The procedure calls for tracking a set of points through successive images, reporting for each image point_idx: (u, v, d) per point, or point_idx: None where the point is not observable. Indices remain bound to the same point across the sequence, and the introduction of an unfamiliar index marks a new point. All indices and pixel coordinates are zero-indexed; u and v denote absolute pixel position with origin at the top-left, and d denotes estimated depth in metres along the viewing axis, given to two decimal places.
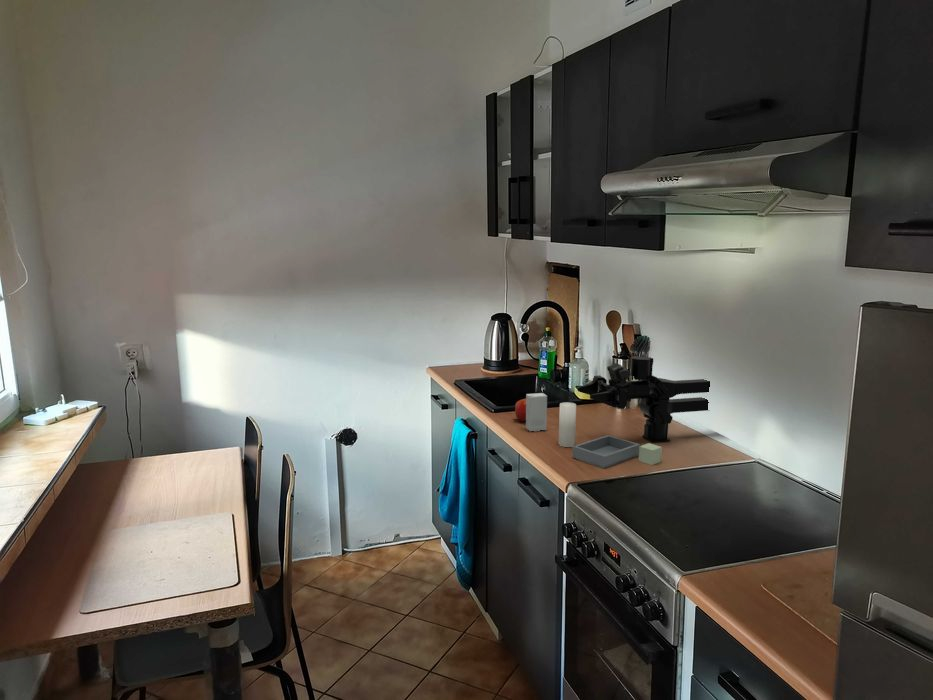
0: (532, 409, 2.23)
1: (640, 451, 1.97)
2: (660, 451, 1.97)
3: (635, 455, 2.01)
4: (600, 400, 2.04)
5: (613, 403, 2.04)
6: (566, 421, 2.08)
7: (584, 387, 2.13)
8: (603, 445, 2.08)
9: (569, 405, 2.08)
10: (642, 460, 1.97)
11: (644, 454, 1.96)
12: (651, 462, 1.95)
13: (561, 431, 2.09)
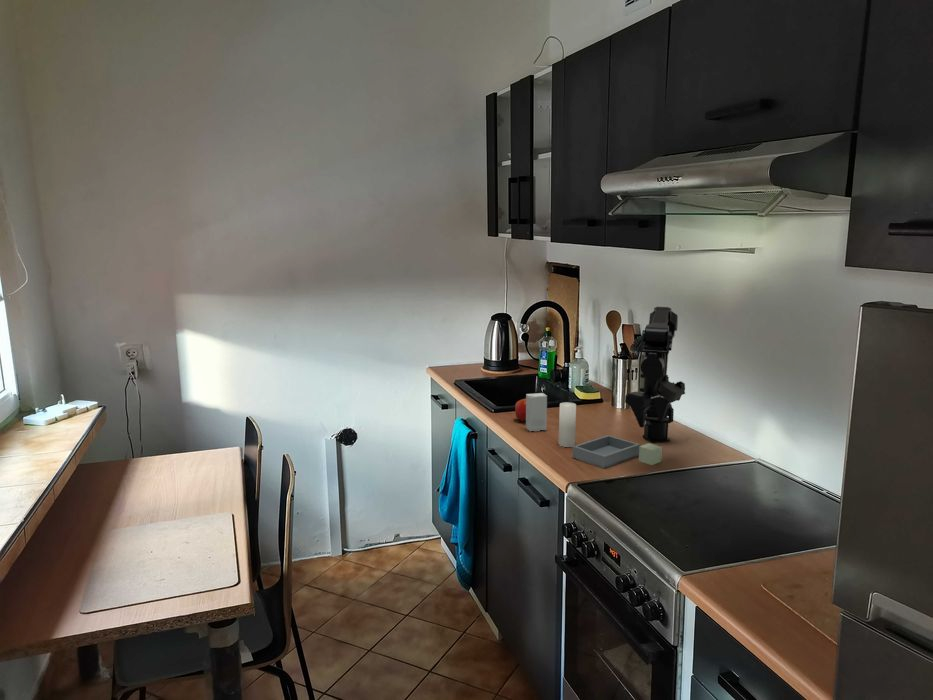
0: (532, 409, 2.23)
1: (640, 451, 1.97)
2: (660, 451, 1.97)
3: (635, 455, 2.01)
4: None
5: None
6: (566, 421, 2.08)
7: None
8: (603, 445, 2.08)
9: (569, 405, 2.08)
10: (642, 460, 1.97)
11: (644, 454, 1.96)
12: (651, 462, 1.95)
13: (561, 431, 2.09)
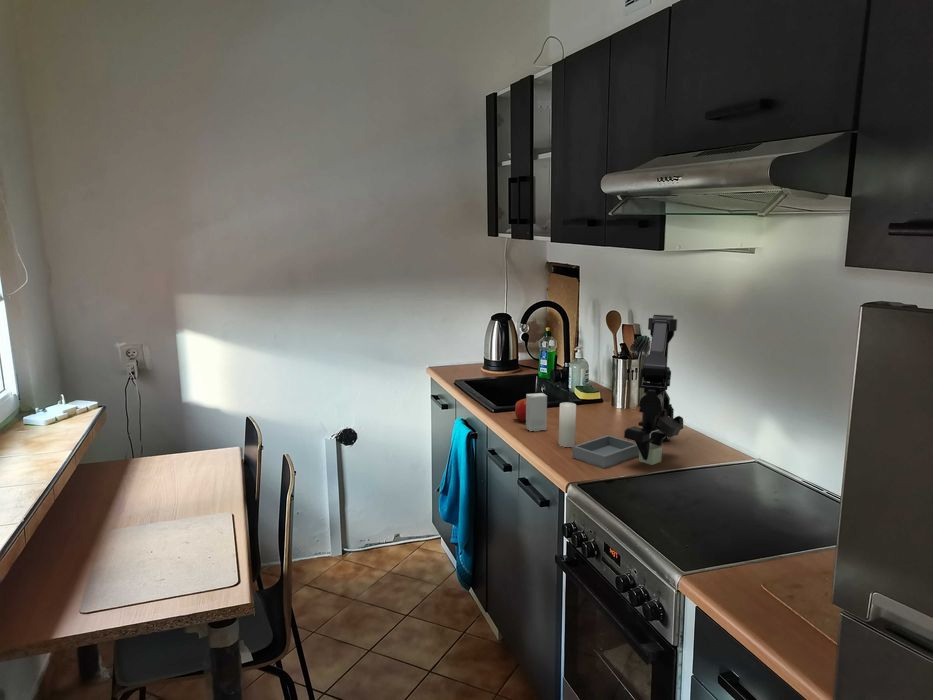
0: (532, 409, 2.23)
1: None
2: (660, 451, 1.97)
3: (635, 455, 2.01)
4: None
5: None
6: (566, 421, 2.08)
7: None
8: (603, 445, 2.08)
9: (569, 405, 2.08)
10: (642, 460, 1.97)
11: None
12: (651, 462, 1.95)
13: (561, 431, 2.09)
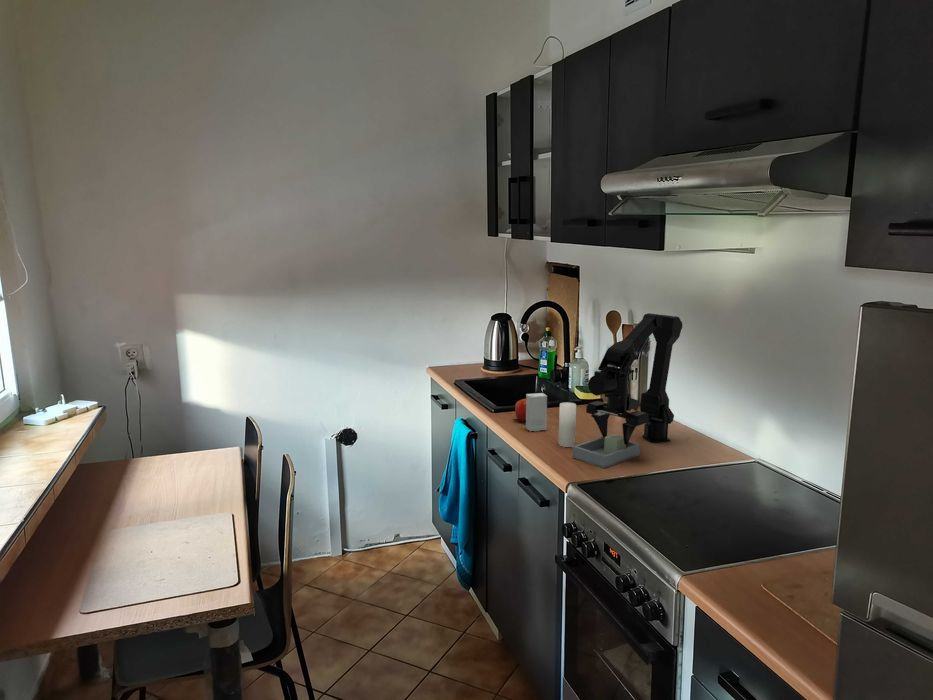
0: (532, 409, 2.23)
1: (617, 444, 2.00)
2: None
3: (635, 455, 2.01)
4: None
5: None
6: (566, 421, 2.08)
7: None
8: (603, 445, 2.08)
9: (569, 405, 2.08)
10: None
11: (620, 445, 2.01)
12: None
13: (561, 431, 2.09)
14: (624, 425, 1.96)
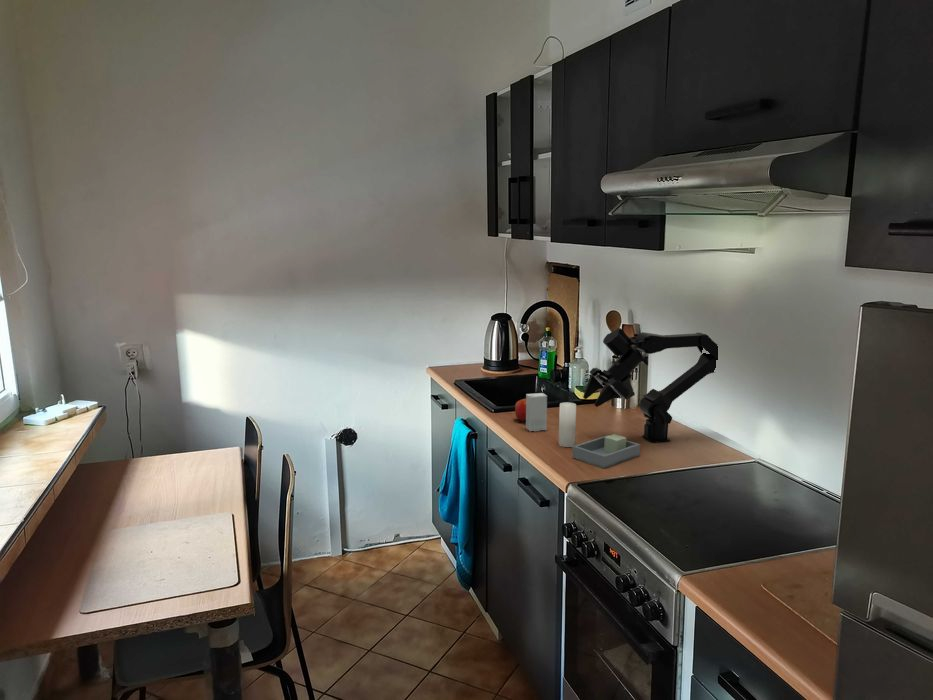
0: (532, 409, 2.23)
1: (617, 444, 2.00)
2: None
3: (635, 455, 2.01)
4: None
5: None
6: (566, 421, 2.08)
7: None
8: (603, 445, 2.08)
9: (569, 405, 2.08)
10: None
11: (620, 445, 2.01)
12: None
13: (561, 431, 2.09)
14: (606, 384, 2.04)
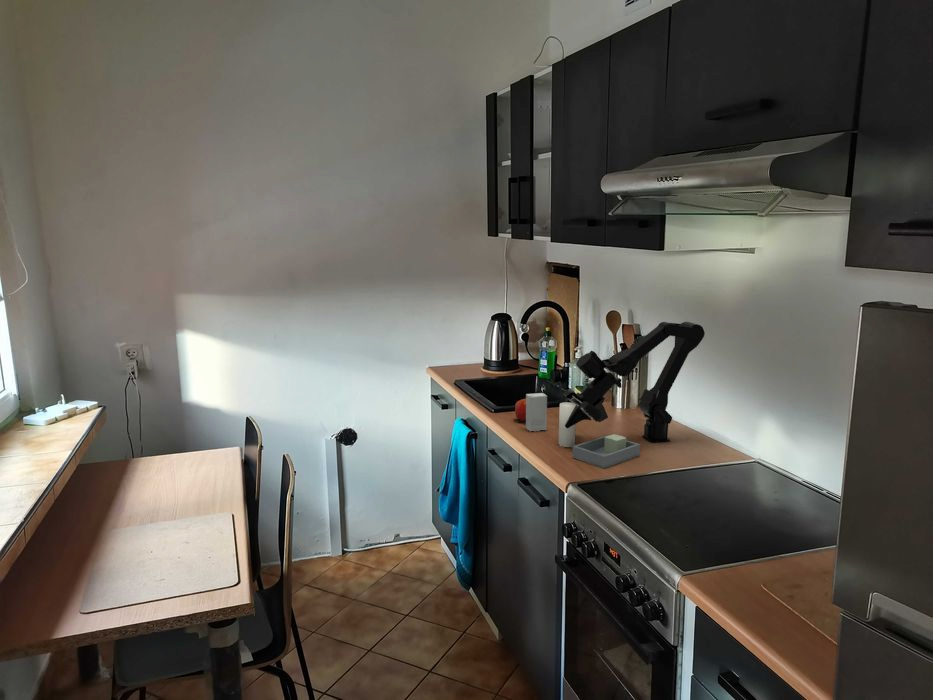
0: (532, 409, 2.23)
1: (617, 444, 2.00)
2: None
3: (635, 455, 2.01)
4: None
5: None
6: (566, 421, 2.08)
7: None
8: (603, 445, 2.08)
9: (569, 405, 2.08)
10: None
11: (620, 445, 2.01)
12: None
13: (561, 431, 2.09)
14: (576, 406, 2.06)
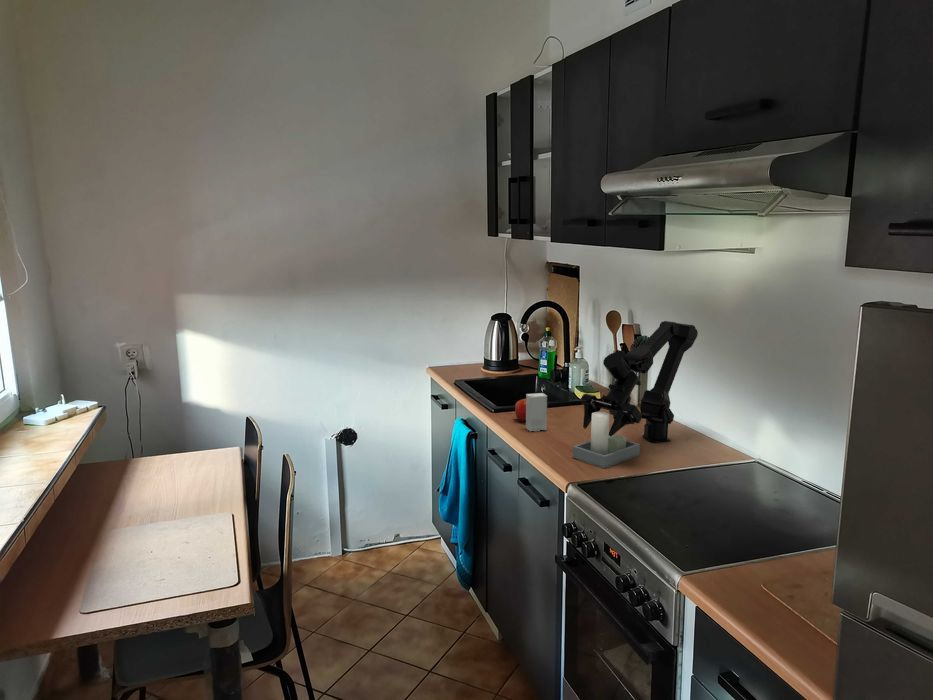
0: (532, 409, 2.23)
1: (617, 444, 2.00)
2: None
3: (635, 455, 2.01)
4: None
5: None
6: (603, 432, 1.95)
7: None
8: None
9: (604, 415, 1.96)
10: None
11: (620, 445, 2.01)
12: None
13: (597, 443, 1.96)
14: (620, 412, 1.93)
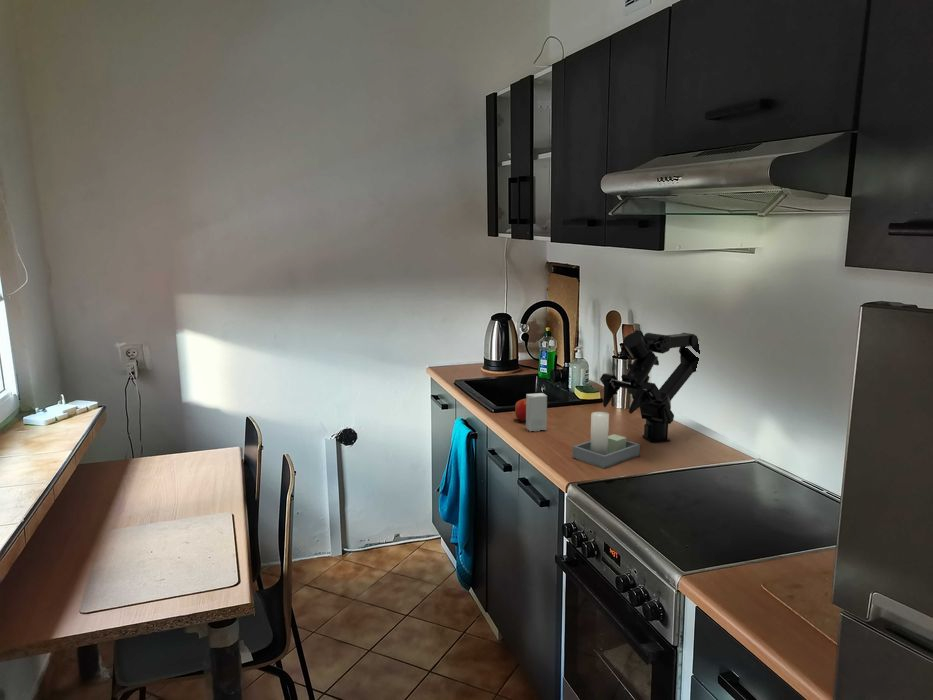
0: (532, 409, 2.23)
1: (617, 444, 2.00)
2: None
3: (635, 455, 2.01)
4: None
5: None
6: (602, 432, 1.95)
7: None
8: None
9: (603, 414, 1.96)
10: None
11: (620, 445, 2.01)
12: None
13: (597, 443, 1.96)
14: (639, 389, 1.98)
